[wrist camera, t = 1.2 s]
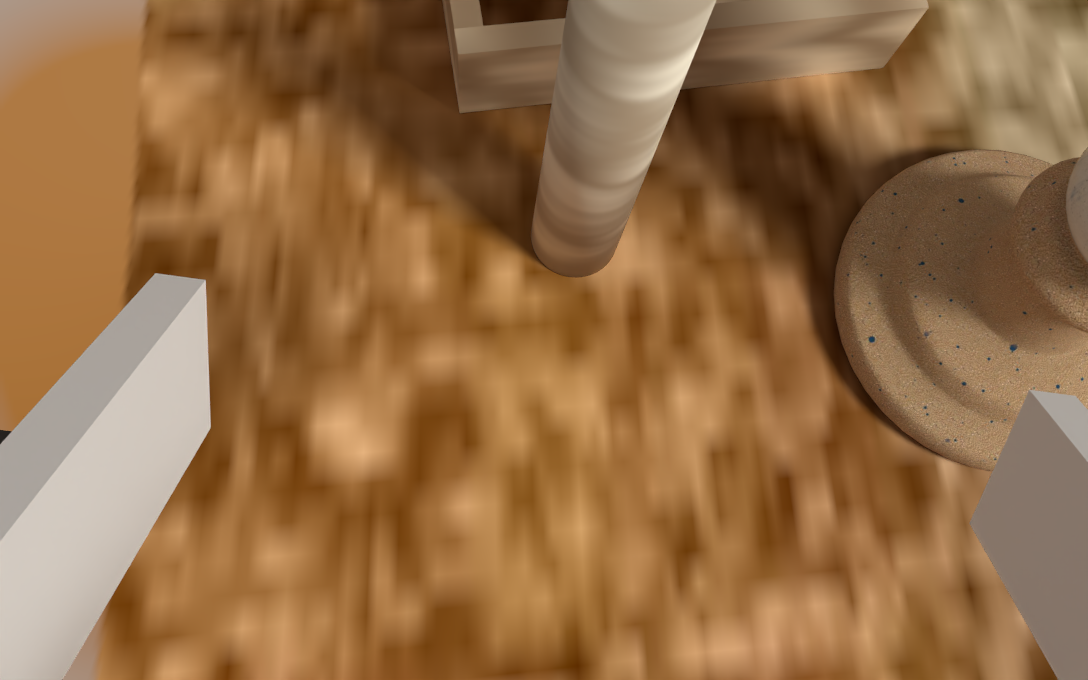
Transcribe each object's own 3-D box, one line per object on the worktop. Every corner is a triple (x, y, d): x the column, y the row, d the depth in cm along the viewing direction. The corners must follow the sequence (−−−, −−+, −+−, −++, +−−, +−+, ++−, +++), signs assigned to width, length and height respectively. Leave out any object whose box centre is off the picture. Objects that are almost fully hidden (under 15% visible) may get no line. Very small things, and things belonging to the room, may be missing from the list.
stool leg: (608, 191, 36) (713, -121, 21) (624, 271, 35) (744, 7, 20) (524, 201, 36) (566, -109, 20) (538, 282, 35) (592, 22, 19)
